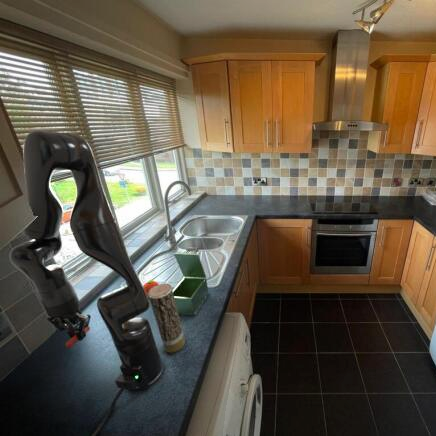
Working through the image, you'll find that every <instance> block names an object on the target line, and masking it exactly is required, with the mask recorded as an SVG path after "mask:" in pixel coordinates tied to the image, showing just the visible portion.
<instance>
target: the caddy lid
mask: <svg viewBox="0 0 436 436" xmlns="http://www.w3.org/2000/svg"><path fill="white" fill-rule="evenodd" d="M199 251H200V250H199V247H189V246H188V247H185V251H184V252H174V253H173V255H174V257H175V260H176V262H177V264H178V267H179V270H180V272H181V273H182V276H183V278H184V277H193V278H206V279H207V275H206V272H205V270H204V269H205V268H204V267H203V264H202V261H201V258H200V255H199V253H198V252H199ZM190 252H193V253H190Z"/></svg>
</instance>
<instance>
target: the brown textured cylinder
mask: <svg viewBox="0 0 436 436" xmlns="http://www.w3.org/2000/svg"><path fill="white" fill-rule="evenodd" d="M158 284H159V283H158ZM147 297H148V300H149V304H150V306H151V309H152V312H153V317H154V319H155V322H156V326H157V329H158V332H159V336H160V339H161V341H162V345H163V348H164V350H165V352H166V353H170V354H172V353H176V352H179V351H180V350H181V349H182V348H183V347H184V345H185V343H186V339H185V335H184V331H183V326H182V323H181V320H180V314H178V310H177V307H176V303H175V299H174V295H173V287H172V285H171V284H169V283H160V284H159V285H156V286H154V287H153V288H151V289H150V290H149V292H148V296H147Z"/></svg>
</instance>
